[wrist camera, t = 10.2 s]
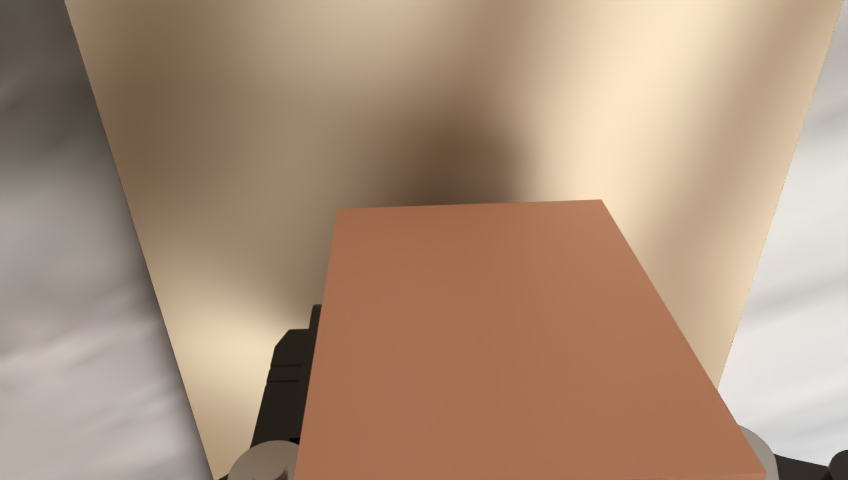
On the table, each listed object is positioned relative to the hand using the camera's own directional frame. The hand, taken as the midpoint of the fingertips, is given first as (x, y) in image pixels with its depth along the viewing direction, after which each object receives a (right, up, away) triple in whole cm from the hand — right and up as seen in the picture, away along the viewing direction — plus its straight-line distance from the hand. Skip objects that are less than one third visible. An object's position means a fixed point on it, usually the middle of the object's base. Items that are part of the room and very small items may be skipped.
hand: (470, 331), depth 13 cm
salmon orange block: (0, 0, +1) cm, 1 cm away
